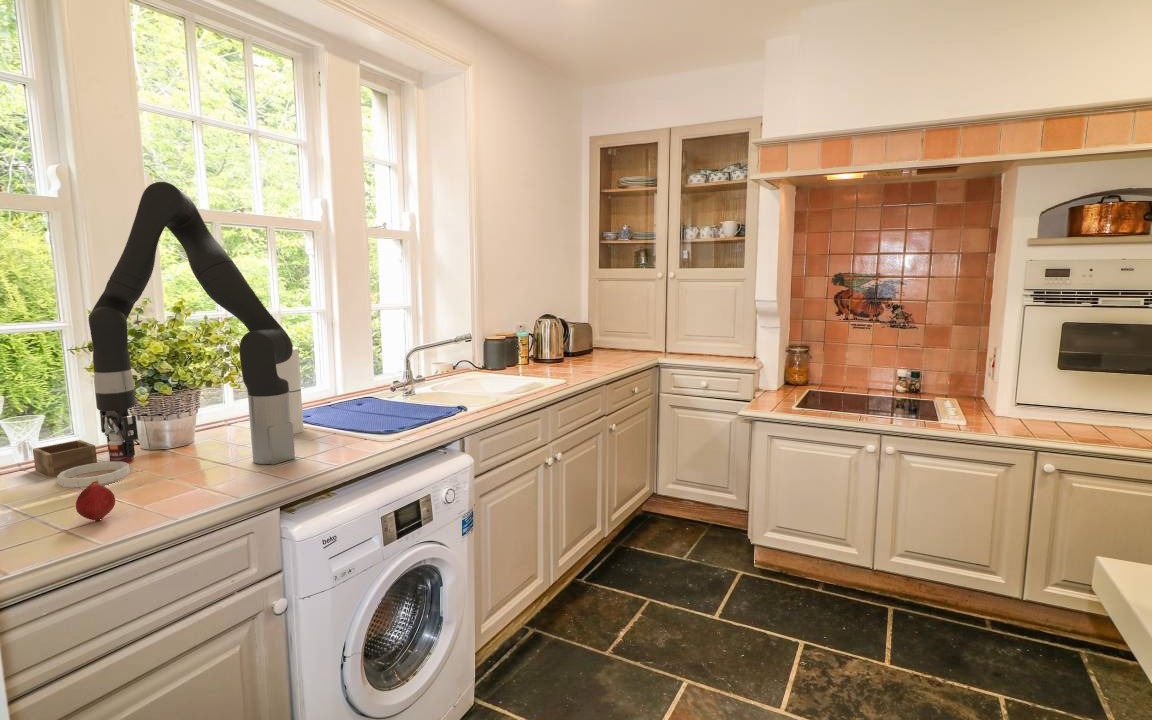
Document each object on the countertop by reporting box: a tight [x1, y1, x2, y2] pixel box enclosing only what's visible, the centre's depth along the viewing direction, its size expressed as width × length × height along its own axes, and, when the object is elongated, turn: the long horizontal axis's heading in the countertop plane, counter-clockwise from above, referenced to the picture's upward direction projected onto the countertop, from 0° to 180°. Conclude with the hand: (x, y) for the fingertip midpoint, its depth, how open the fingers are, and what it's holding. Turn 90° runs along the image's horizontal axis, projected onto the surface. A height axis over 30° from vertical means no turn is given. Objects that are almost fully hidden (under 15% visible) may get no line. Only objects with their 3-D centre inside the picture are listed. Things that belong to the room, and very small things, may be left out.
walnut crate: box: [32, 439, 98, 478], centre depth 141 cm, size 9×9×6 cm
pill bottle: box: [107, 432, 135, 465], centre depth 145 cm, size 5×5×8 cm
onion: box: [75, 480, 116, 521], centre depth 113 cm, size 6×6×8 cm
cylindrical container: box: [276, 346, 304, 435], centre depth 175 cm, size 7×7×25 cm
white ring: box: [56, 460, 131, 488], centre depth 135 cm, size 12×12×2 cm
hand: (121, 453), depth 146 cm, fingers open, 8 cm apart
